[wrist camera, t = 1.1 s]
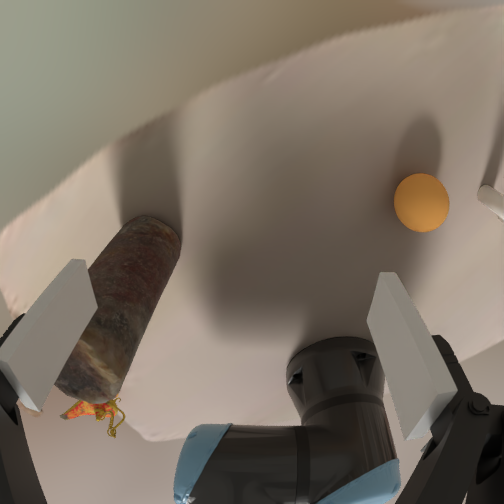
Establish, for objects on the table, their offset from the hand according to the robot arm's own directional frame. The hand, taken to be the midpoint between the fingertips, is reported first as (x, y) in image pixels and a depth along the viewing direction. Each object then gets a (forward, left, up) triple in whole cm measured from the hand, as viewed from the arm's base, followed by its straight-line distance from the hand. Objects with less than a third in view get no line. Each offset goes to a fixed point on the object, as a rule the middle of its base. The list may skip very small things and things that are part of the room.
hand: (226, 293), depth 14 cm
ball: (-9, -15, -18) cm, 25 cm away
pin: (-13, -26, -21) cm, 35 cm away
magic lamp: (-25, +43, -21) cm, 54 cm away
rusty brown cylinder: (-3, +14, -21) cm, 25 cm away
